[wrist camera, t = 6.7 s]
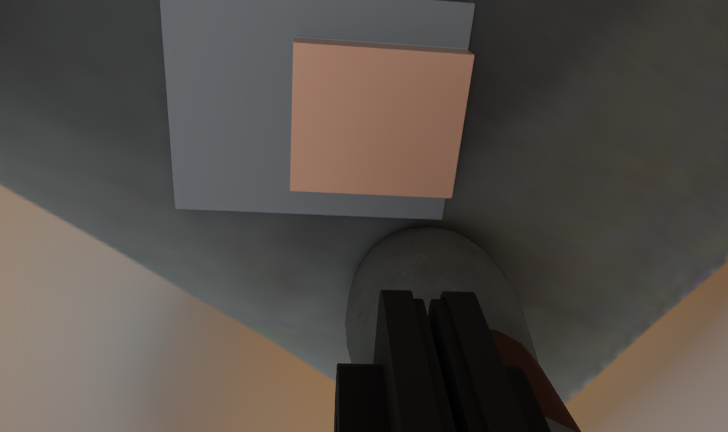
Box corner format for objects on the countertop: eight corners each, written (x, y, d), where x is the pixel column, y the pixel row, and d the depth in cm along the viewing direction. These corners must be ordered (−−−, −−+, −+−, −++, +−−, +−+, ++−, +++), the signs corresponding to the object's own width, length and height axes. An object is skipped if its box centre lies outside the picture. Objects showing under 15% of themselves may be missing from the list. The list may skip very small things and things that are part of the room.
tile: (294, 36, 26) (466, 48, 27) (291, 178, 29) (445, 185, 30) (293, 42, 25) (474, 55, 25) (289, 191, 28) (451, 198, 28)
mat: (472, 2, 26) (475, 3, 26) (440, 215, 31) (442, 219, 31) (161, -23, 25) (158, -22, 25) (177, 204, 30) (175, 208, 29)
